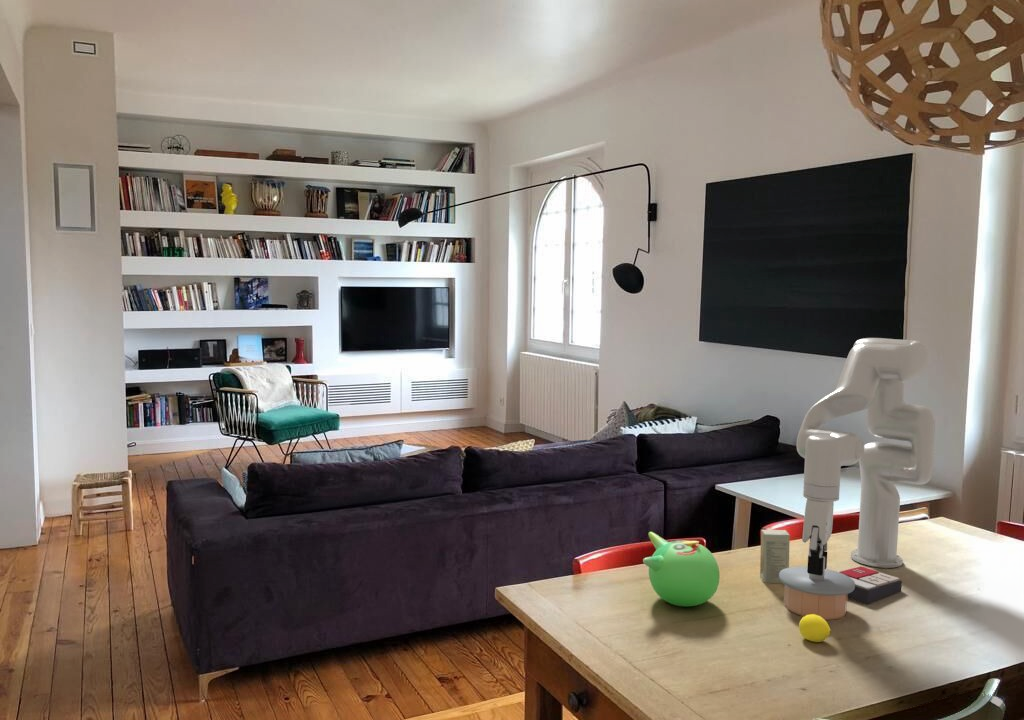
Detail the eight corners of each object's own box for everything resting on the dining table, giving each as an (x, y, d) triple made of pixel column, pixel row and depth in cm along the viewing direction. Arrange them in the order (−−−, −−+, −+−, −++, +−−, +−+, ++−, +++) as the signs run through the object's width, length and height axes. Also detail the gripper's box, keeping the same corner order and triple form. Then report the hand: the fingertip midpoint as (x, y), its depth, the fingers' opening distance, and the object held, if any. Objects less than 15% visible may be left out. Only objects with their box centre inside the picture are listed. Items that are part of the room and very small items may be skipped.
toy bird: (720, 621, 178) (722, 554, 176) (640, 613, 181) (643, 548, 180) (716, 591, 195) (719, 530, 194) (644, 584, 199) (646, 525, 197)
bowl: (791, 593, 195) (792, 568, 194) (850, 604, 188) (851, 579, 188) (778, 611, 184) (780, 585, 183) (841, 624, 177) (842, 597, 177)
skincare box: (784, 577, 205) (787, 529, 204) (788, 584, 201) (791, 535, 200) (758, 576, 206) (760, 528, 205) (761, 582, 201) (764, 533, 200)
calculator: (903, 577, 197) (868, 587, 188) (901, 595, 197) (867, 605, 188) (860, 564, 206) (825, 573, 197) (858, 581, 206) (824, 590, 197)
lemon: (792, 640, 170) (791, 614, 170) (808, 634, 173) (806, 608, 173) (823, 648, 164) (821, 621, 164) (838, 642, 168) (836, 615, 168)
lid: (786, 565, 196) (787, 541, 196) (859, 578, 189) (860, 553, 188) (772, 586, 183) (773, 560, 182) (849, 600, 175) (851, 574, 174)
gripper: (810, 481, 193) (806, 557, 194) (796, 496, 178) (791, 579, 180) (845, 485, 189) (840, 563, 191) (832, 501, 174) (828, 586, 176)
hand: (816, 570), depth 185 cm, fingers open, 4 cm apart
